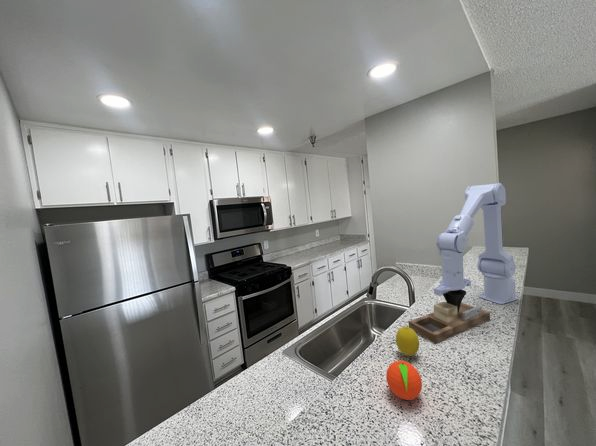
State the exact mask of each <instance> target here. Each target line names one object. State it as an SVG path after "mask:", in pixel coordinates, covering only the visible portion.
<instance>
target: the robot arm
mask: <svg viewBox="0 0 596 446" xmlns="http://www.w3.org/2000/svg"><path fill="white" fill-rule="evenodd" d="M506 192H507V191H506V188H505V186H504V185H503V184H502V183H500V182H495V183H489V184H479V185H469V186H467V188H466V189H465V192H464V199H465V202H464V204H463V206H462V208H461V211H460V213H459V214H457V215H455V216H454V217H453V218H452V219H451V221H450V223H449V225H448V226H447V228H446V229H445V231H444V232H442V233H439V235H437V239H436V242H435V243H436V244H435V245H436V247H437V249H438V254H439V256H440V257H441V259H440V260H441V262H440V263H441V280H439V284H438V286H436V287H434V288H433V295H437V296H438V297H443V298H444V299H445V302H447V303H449V304H452V305H454V306H457V313H458V312H459V309H460V305H461V303H463V300H464V298H465V297H466V295H467V291H466V290H464V289H465V288H466V287H471V286H472V280H471V279H467V278H465V277H464V252H465V250H466V249H467V245H468V240H469V237H468V235H469V233H470V231H471V230H472V228H473V227H474V219H473V218H474V217H475V215H476V214H477V213H478V211H479V210H480V209H481V210H482V212H483V213H482V215H483V231H484V245H485V246H484V247H485V248H484V249H485V250H484V251H481V252H480V253H479V254H478V256H477V257H478V259H477V264H476V265H477V269H478V271H479V273H481V275H482V276H483V294H480V295H478V298H481V299H483V300H487V301H490V302H493V303H494V304H495V303H496V304H498V305H504V304H507V303H511V302H514V301H518V300H519V297H517V296H516V281H515V279H514V277H513V276H514V275H515V272H516V263H515V259H514V256H513V255H512V254H510V253H509V252H507V251H505V250H504V249H503V245H504V244H503V231H502V230H503V228H502V226H503V225H502V212H501V211H502V207H503V206H505V205H506V204H507V203H506V202H507V195H506Z"/></svg>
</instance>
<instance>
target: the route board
mask: <svg viewBox="0 0 596 446" xmlns="http://www.w3.org/2000/svg"><path fill="white" fill-rule="evenodd" d="M475 307H476V306H472V305H470V304H467V303H464V302H461V305H460V309H459V312H458V313H457V315H458V319H456V320H454V321H451V322H449V323H447V322H444V321H442V320H440V319H438V318H436V317H434V311H433V312H431V313H428V314H426V315H422V316H420V317H417V318H415V319H411V320H409V321H408V327H409V328H411V329H413V330H414V331H415V332H416V334H417V336H420V337H422V338H424V339H425V340H427V341H429V342H431V343H433V344H435V345H436V344H438V343H441V342H442V341H445V340H447V339H449V338H452V337H454V336H456V335H459V334H461V333H463V332H465V331H468V330H470V329H472V328H475V327H477V326H479V325H482V324H484V323H486V322H488V321H491V312H490V311H487V310H483V309H482V308H481V315H479V316H477V317H475V318H472V319H470V320H467V321H463V318H462V312H465V311H467V310H470V309H472V308H475Z"/></svg>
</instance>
